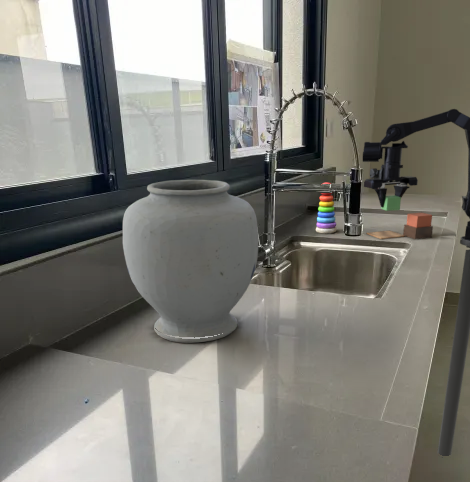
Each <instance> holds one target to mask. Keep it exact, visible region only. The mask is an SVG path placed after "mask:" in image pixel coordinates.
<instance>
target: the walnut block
mask: <svg viewBox="0 0 470 482" xmlns="http://www.w3.org/2000/svg"><path fill="white" fill-rule="evenodd" d="M433 229H434V226H433V225H431V226H428V227H418V228H416V227H413V226H409V225H407V223H405V224H404V225H403V234H402V235H405V237H407V238H410V239H413V240H419V239H420V240H421V239H428V238H429V239H430V238H433V231H434V230H433Z"/></svg>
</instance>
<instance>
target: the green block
mask: <svg viewBox="0 0 470 482" xmlns="http://www.w3.org/2000/svg"><path fill="white" fill-rule="evenodd" d="M401 201H402V198H401V197H398V196H395V194H394V195H386V198H385V203H384V207H381V206H380V209H381V210H384V211H387V212H389V211H391V212H392V211H400V210H401Z"/></svg>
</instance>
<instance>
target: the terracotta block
mask: <svg viewBox="0 0 470 482" xmlns="http://www.w3.org/2000/svg"><path fill="white" fill-rule="evenodd" d="M432 221H433V215H432V214H430V213H426V212H422V211H421V212H412V213H407V217H406V224H407V225H409V226H413V227H416V228H418V227H428V226H432V223H433V222H432Z"/></svg>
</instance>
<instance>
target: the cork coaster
mask: <svg viewBox="0 0 470 482" xmlns="http://www.w3.org/2000/svg"><path fill="white" fill-rule="evenodd" d="M366 235H369V236H371V237H374V238H376V239H379V240H385V239H386V240H387V239H397V238H404V237H405V238H406V236H405V235H403V234H402V233H399V232H396V231H393V230H381V231H372V232H366Z"/></svg>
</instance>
